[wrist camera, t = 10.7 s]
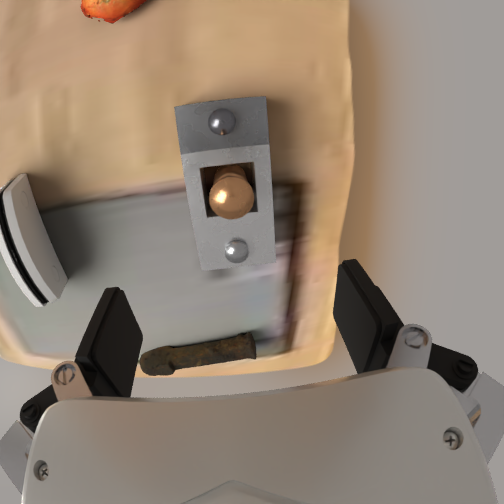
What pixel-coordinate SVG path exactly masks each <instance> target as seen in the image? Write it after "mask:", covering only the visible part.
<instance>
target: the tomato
mask: <svg viewBox="0 0 504 504" xmlns="http://www.w3.org/2000/svg"><path fill="white" fill-rule="evenodd" d="M144 2H146V0H82V4H81V9H82V12H83V13H84V15H85V16H86V17H88V18H91V19H92V17H96V18H103V19H105V21H106V22H109V23H114V22H116V21H118V20H119V19H120V18H122V17H124V16H126V15H127V14H129V12H132V11H133V10H135V9H137V8H138V7H139V6H140V4H143V3H144ZM98 21H99V22H100V20H98Z"/></svg>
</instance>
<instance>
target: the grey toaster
mask: <svg viewBox="0 0 504 504" xmlns="http://www.w3.org/2000/svg"><path fill="white" fill-rule="evenodd" d="M0 251H1V253H2V256H3V258H4V260H5V262H6V264H7V266H8V268H9V270H10V272H11V274H12V276H13V278H14V279H15V281H16V282H17V284H18V285H19V287H20V288H21V290H22V291H23V293H24V294H25V295H26V296H27V298H28V299H29V300H30V301H31V302H32V303H33V304H34V305H35V306H36V307H41V306H45V305H46V304H47V302H51V303H53V302H55V301H56V300H58V299H59V298H60V296H61V294H62V291H63V289H64V287H65V285H66V283H67V281H68V278H67V276H66V274H65V272H64V270H63V268H62V266H61V264H60V262H59V260H58V257H57V255H56V253H55V251H54V248H53V246H52V244H51V241H50V239H49V237H48V234H47V232H46V229H45V227H44V224H43V222H42V219H41V216H40V214H39V211H38V208H37V205H36V202H35V200H34V197H33V194H32V190H31V187H30V184H29V181H28V177H27V174H26V173H24V174H20V175H19V176H18V177H17V178H16V179H15V180H12V179H11V180H10V181H8V182H7V183H6V184H5V185H4V186H2V187H1V188H0Z"/></svg>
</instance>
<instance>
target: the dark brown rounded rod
mask: <svg viewBox="0 0 504 504" xmlns="http://www.w3.org/2000/svg"><path fill="white" fill-rule="evenodd" d="M246 358H251V359H256V346H255V342H254V339H253V337H252V334H251V333H250V332H248V333H247V334H246V335H242V334H238V335H237V337H234V338H229V339H224V340H219V341H214V342H204V343H203V344H195V345H191V346H185V347H179V348H172V347H171V346H164V347H159V348H156V349H154V350H151V351H148V352H146V353H144V354H142V355H141V358H140V366H141V369H142V371H143V372H144V373H146V374H148V375H150V376H156V375H171V374H173V373H174V371H175V370H178V369H182V368H190V367H197V366H204V365H210V364H216V363H224V362H228V361H235V360H241V359H246Z"/></svg>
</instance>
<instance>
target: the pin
mask: <svg viewBox="0 0 504 504" xmlns="http://www.w3.org/2000/svg"><path fill="white" fill-rule="evenodd" d="M209 202H210V205H211V208H212V210H213V211H214V212H215V213H216V214H217V215H218V216H220V217H222V218H225V219H238V218H241V217H243V216H244V215H246V214H247V213H248V212H249V211H250V210H251V208H252V206H253V203H254V194H253V190H252V188H251V186H250V184H249V183H248V181H247V178H246V174H245V172H244V170H243V169H242V168H241V167H240V166H238V165H236V164H226V165H223V166H221V167H220V168H219V169H218V170H217V171H216V173H215V176H214V183H213V186H212V188H211V191H210V196H209Z"/></svg>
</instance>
